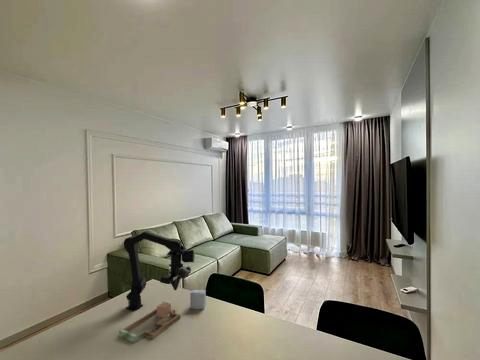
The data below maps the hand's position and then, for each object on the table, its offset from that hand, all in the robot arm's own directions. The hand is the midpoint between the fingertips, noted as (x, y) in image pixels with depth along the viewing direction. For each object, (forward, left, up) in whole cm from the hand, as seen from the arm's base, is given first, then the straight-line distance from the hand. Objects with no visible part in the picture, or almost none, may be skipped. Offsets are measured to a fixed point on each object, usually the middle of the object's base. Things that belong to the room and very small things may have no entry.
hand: (175, 290), depth 129 cm
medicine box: (+12, +5, -9) cm, 16 cm away
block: (0, -9, -9) cm, 13 cm away
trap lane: (+3, -19, -9) cm, 21 cm away
